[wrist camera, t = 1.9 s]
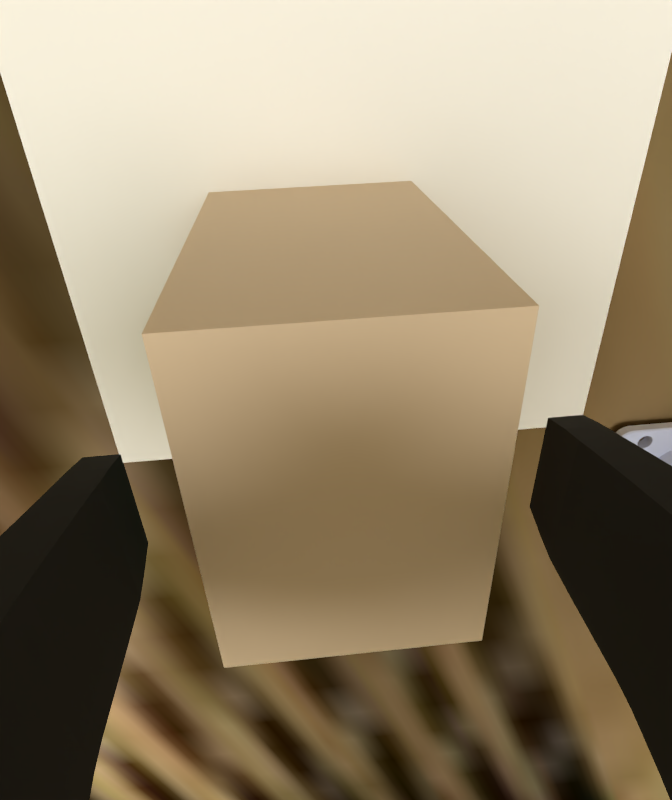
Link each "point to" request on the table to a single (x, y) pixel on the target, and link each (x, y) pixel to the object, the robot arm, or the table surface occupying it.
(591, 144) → the large cream panel
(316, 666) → the table surface
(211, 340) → the kraft carton
